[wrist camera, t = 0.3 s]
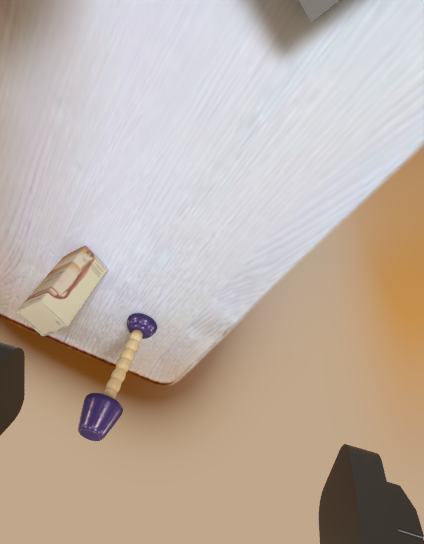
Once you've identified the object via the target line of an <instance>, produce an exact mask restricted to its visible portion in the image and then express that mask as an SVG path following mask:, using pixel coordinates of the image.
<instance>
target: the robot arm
mask: <svg viewBox="0 0 424 544" xmlns="http://www.w3.org/2000/svg"><path fill="white" fill-rule="evenodd" d="M23 400H24V352H23V350H22V349H21V348H18V347H14V346H11V345H7V344H4V343H0V435H1V434H2V433H3V432H4V431H5V430H6V429H7V428H8V426H9V425H10V424H11V423H12V422H13V421H14V420H15V418H16V417H17V415H18V414H19V412H20V410H21V407H22V404H23ZM319 531H320V544H424V541H423V536H424V535H423V532H422V528H421V525H420V522H419V518H418V515H417V512H416V509H415V508H414V507H413V505H412V503H411V502H410V500H409V499H408V497H407V496H406V494H405V493H404V491H403V490H402V488H401V487H400V486H399V485H396V484H392V483H389V482H387V481H386V477H385V473H384V469H383V465H382V461H381V458H380V456H379V455H378V454H377V453H374V452H370V451H367V450H363V449H360V448H357V447H353V446H349V445H346V444H344V445H343V446H342V447H341V449H340V451H339V453H338V456H337V458H336V460H335V463H334V465H333V468H332V470H331V472H330V474H329V477H328V479H327V482H326V484H325V486H324V488H323V491H322V496H321V500H320V506H319Z"/></svg>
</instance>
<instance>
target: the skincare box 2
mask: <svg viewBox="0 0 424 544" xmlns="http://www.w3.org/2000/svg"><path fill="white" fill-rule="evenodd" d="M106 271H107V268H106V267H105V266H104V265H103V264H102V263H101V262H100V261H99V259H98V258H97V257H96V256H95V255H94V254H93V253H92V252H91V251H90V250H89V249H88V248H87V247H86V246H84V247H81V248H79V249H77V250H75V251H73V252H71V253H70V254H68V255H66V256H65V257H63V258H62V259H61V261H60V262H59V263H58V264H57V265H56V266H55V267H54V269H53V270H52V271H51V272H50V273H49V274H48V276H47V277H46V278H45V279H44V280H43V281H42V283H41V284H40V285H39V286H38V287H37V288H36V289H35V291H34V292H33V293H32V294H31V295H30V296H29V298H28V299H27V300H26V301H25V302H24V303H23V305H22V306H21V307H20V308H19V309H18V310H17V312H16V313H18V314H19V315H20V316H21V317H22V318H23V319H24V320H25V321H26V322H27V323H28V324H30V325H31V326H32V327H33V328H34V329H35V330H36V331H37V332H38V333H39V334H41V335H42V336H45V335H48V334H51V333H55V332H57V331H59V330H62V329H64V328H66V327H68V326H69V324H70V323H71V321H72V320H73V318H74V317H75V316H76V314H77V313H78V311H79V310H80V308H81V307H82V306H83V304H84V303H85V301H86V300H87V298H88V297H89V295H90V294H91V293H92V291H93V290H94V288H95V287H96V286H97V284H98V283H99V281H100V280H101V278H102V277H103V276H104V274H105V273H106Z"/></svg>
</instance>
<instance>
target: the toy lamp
mask: <svg viewBox="0 0 424 544" xmlns="http://www.w3.org/2000/svg"><path fill="white" fill-rule="evenodd" d="M127 326H128V330H129V331H130V333H131V334H130V336H129V340H128V341H127V343H126V345H125V349H124V350H123V351H122V353H121V356H120V359H119V360H118V362H117V364H116V369H115V370H114V371H113V372H112V375H111V379H110V380H109V381H108V383H107V385H106V390H105V391H104V392H103V393H102V394H101V393H91V394H89V395H87V396H86V398H85V400H84V404H83V408H82V413H81V417H80V422H79V433H80V434H81V435H82V436H83V437H85V438H87V439H89V440H93V441H100V440H102V439H103V438H104V437H105V436H106V435H107V433H108V432H109V431H110V429H111V428H112V427H113V425H114V424H115V423H116V421H117V420H118V419H119V417H120V416H121V414H122V411H123V409H122V406H121V404H120V403H119V402H118V401H116V400H115V399H116V394H117V393H118V391H119V390H120V387H121V383H122V382H123V380H124V379H125V376H126V372H127V371H128V370H129V368H130V363H131V362H132V360H133V359H134V356H135V352H136V351H137V349H138V346H139V343H140V342H141V340H142V339H145V338H149V337H151V336H152V335H153V334H154V333H155V332H156V329H157V325H156V323H155V321H154V320H153V319H152V318H150V317H149V316H147V315H144V314H139V313H138V314H133V315H131V316H130V317H129V318H128V322H127Z"/></svg>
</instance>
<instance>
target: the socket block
mask: <svg viewBox="0 0 424 544" xmlns="http://www.w3.org/2000/svg"><path fill="white" fill-rule="evenodd" d="M338 1H340V0H299V2H300V3H301V5H302V7H303V9H304V11H305V13H306V14H307V16H308V18H309V20H310V22H313V21H314V20H315V19H317V18H318V17H319V16H320V15H322V14H323V13H324V12H326V11H327V10H328V9H329V8H331V7H332V6H333V5H334V4H336V3H337V2H338Z"/></svg>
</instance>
